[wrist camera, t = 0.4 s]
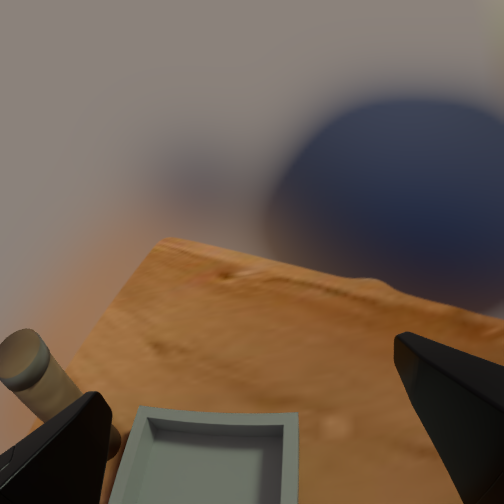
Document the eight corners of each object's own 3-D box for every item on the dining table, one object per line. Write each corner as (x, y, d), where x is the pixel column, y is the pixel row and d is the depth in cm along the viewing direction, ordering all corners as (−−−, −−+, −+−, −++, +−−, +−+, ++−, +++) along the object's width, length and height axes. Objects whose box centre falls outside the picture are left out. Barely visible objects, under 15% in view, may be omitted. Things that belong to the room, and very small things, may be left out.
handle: (113, 468, 18) (15, 382, 12) (74, 455, 19) (-18, 369, 12) (127, 426, 22) (49, 330, 15) (89, 418, 22) (13, 325, 16)
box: (294, 573, 10) (293, 576, 8) (120, 544, 12) (98, 538, 10) (299, 428, 20) (298, 412, 19) (153, 422, 22) (139, 405, 21)
